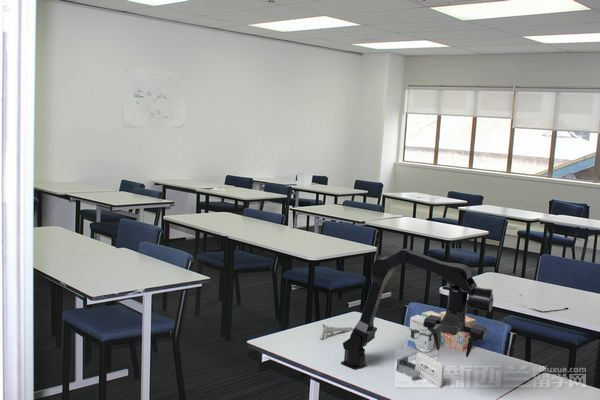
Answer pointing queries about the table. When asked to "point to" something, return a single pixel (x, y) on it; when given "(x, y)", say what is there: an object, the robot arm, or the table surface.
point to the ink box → (420, 334)
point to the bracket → (407, 368)
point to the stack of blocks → (456, 340)
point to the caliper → (332, 330)
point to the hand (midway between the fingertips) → (452, 353)
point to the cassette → (431, 375)
